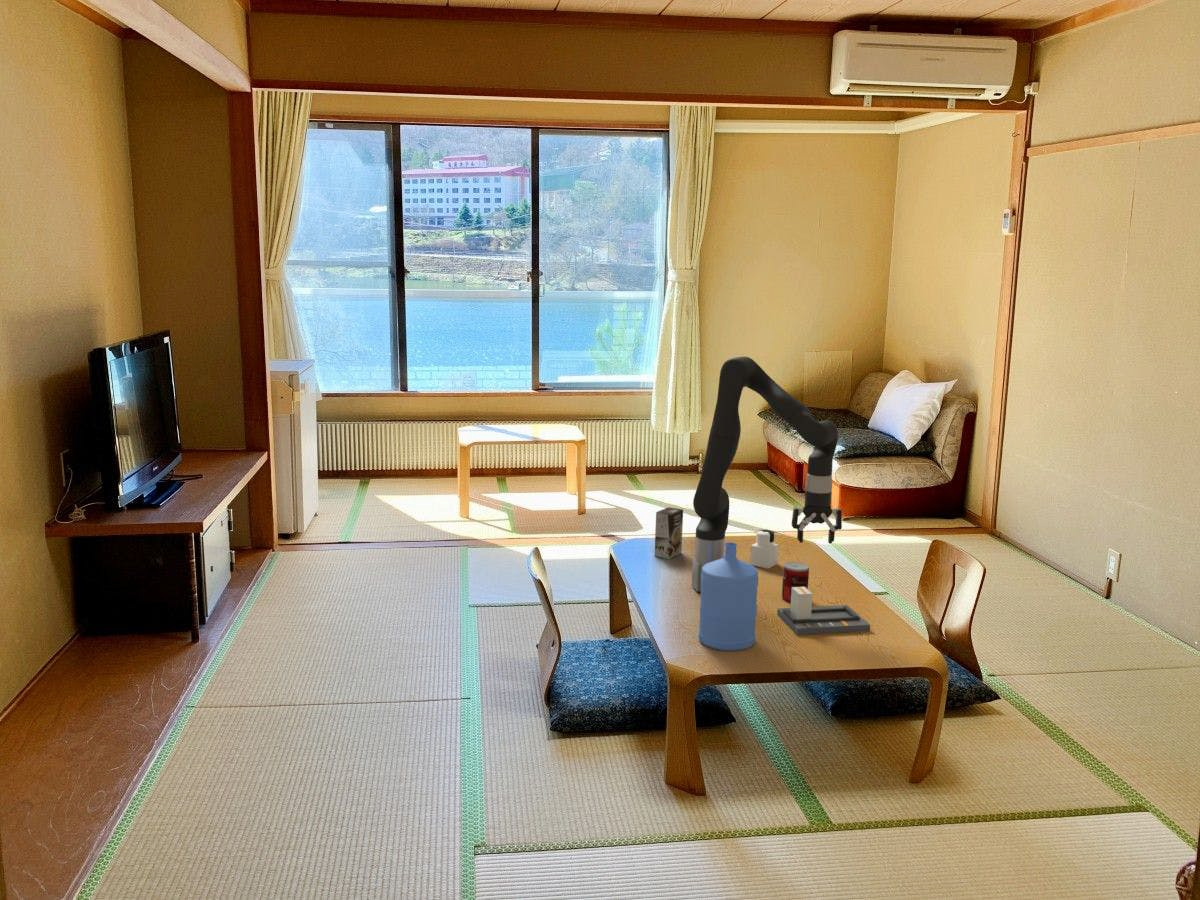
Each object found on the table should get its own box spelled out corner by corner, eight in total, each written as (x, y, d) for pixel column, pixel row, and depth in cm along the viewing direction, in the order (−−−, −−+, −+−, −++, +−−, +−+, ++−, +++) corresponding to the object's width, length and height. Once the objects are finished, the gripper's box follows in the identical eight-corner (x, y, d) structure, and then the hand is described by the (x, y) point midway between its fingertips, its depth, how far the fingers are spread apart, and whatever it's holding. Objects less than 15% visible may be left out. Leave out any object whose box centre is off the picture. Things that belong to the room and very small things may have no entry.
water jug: (764, 648, 275) (769, 550, 269) (711, 654, 271) (715, 554, 265) (740, 627, 290) (745, 534, 284) (689, 633, 285) (693, 538, 280)
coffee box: (669, 559, 350) (671, 514, 347) (653, 556, 354) (655, 511, 350) (682, 553, 358) (684, 509, 354) (666, 549, 361) (668, 506, 358)
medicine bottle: (759, 560, 352) (760, 526, 349) (777, 564, 348) (779, 530, 345) (749, 565, 346) (751, 531, 343) (768, 569, 342) (770, 535, 339)
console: (797, 635, 285) (797, 624, 284) (777, 614, 300) (777, 604, 300) (869, 631, 289) (870, 620, 288) (846, 611, 304) (847, 601, 304)
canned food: (790, 593, 319) (792, 559, 317) (812, 599, 314) (814, 565, 311) (776, 598, 314) (778, 565, 312) (798, 605, 308) (800, 571, 306)
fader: (797, 620, 290) (799, 593, 288) (790, 613, 295) (791, 586, 294) (810, 620, 290) (812, 593, 289) (803, 612, 296) (804, 586, 294)
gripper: (796, 491, 290) (793, 545, 294) (845, 492, 290) (842, 546, 293) (792, 485, 298) (789, 538, 301) (840, 486, 297) (837, 539, 301)
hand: (815, 542), depth 297 cm, fingers open, 8 cm apart
